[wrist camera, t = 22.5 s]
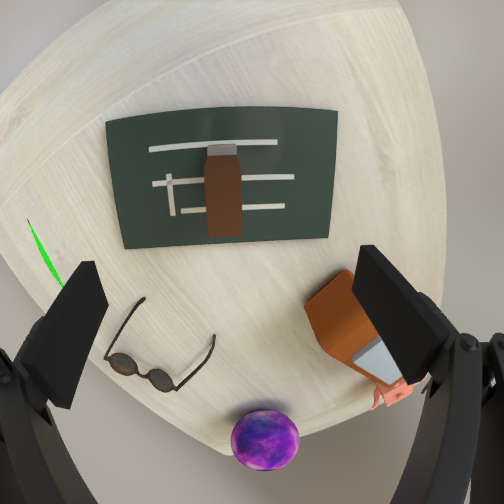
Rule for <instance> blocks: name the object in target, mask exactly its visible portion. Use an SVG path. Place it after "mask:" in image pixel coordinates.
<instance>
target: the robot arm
mask: <svg viewBox="0 0 504 504" xmlns="http://www.w3.org/2000/svg"><path fill="white" fill-rule="evenodd" d="M351 291H352V292H353V294H354V295H355V297H356V299H357V300H358V302H359V303H360V305H361V306H362V308H363V310H364V311H365V313H366V314H367V316H368V318H369V319H370V321H371V323H372V324H373V326H374V328H375V329H376V331H377V333H378V334H379V336H380V338H381V339H382V341H383V343H384V344H385V346H386V348H387V349H388V351H389V353H390V355H391V356H392V358H393V360H394V362H395V363H396V365H397V367H398V369H399V370H400V372H401V374H402V376H403V378H404V379H405V381H406V383H407V385H408V386H409V385H412V384H414V383H417V382H420V381H422V380H423V379H424V377H425V376H426V374H427V372H428V371H429V373H430V375H431V376H432V377H431V378H430V380H429V381H428V383H427V384H426V386H425V387H424V389H423V390H422V392H421V394H423V393H424V392H425V391H426V389H427V393H426V397H425V402H424V406H423V410H422V414H421V418H420V422H419V426H418V429H417V433H416V436H415V439H414V443H413V446H412V449H411V452H410V455H409V458H408V460H407V463H406V466H405V469H404V471H403V474H402V477H401V479H400V481H399V484H398V486H397V489H396V491H395V493H394V496H393V498H392V500H391V502H390V504H464V500H465V497H466V493H467V490H468V486H469V482H470V478H471V491H470V503H469V504H504V334H502V333H495V334H494V335H493V337H492V338H491V340H490V341H489V342H478V340H477V339H476V338H475V337H474V336H472V335H470V334H467V333H462V334H460V333H459V332H458V331H457V330H456V328H455V327H454V326H453V325H452V323H451V322H450V321H449V320H448V319H447V317H446V316H445V315H444V314H443V313H441V310H440V309H439V308H438V307H436V304H435V303H434V302H433V301H432V300H431V299H430V298H429V297H428V296H426V295H425V294H423V293H422V292H417V291H416V290H415V289H414V288H413V287H412V285H411V284H410V283H409V282H408V281H407V280H406V279H405V278H404V277H403V275H402V274H401V273H400V272H399V271H398V270H397V269H396V268H395V267H394V266H393V265H392V264H391V262H390V261H389V260H388V259H387V258H386V257H385V256H384V255H383V254H382V253H381V252H380V251H379V250H378V249H377V248H376V247H375V246H374V245H361V246H360V251H359V256H358V261H357V266H356V271H355V276H354V281H353V285H352V289H351ZM108 306H109V304H108V302H107V299H106V296H105V293H104V290H103V287H102V284H101V281H100V278H99V275H98V272H97V269H96V265H95V262H94V261H82V262H81V263H80V264H79V266H78V267H77V269H76V270H75V271H74V273H73V274H72V276H71V277H70V278H69V280H68V281H67V283H66V284H65V286H64V287H63V289H62V290H61V292H60V293H59V295H58V296H57V298H56V299H55V301H54V302H53V304H52V305H51V307H50V308H49V310H48V312H47V313H46V315H45V316H42V317H41V318H40V319H39V320H38V321H37V322H36V323H35V324H34V325H33V327H32V329H31V330H30V334H28V335H27V337H26V341H24V342H23V344H22V346H21V348H20V350H19V352H18V353H17V355H16V357H15V359H14V361H13V362H12V361H11V360H10V358H9V357H8V355H7V354H6V353H5V351H4V350H3V349H1V348H0V504H98V503H97V501H96V500H95V498H94V497H93V495H92V493H91V492H90V490H89V489H88V487H87V485H86V484H85V482H84V480H83V479H82V477H81V476H80V473H79V472H78V470H77V468H76V466H75V464H74V463H73V460H72V458H71V457H70V455H69V452H68V451H67V448H66V446H65V444H64V442H63V440H62V438H61V436H60V433H59V431H58V429H57V426H56V424H55V421H54V419H53V416H52V414H51V411H50V409H49V408H48V406H47V405H46V403H47V400H48V399H49V400H50V401H51V402H52V403H53V404H54V405H55V406H56V407H60V408H65V409H70V408H71V404H72V401H73V398H74V395H75V392H76V388H77V385H78V383H79V380H80V377H81V374H82V371H83V368H84V365H85V362H86V360H87V357H88V355H89V352H90V349H91V347H92V344H93V342H94V339H95V337H96V334H97V332H98V329H99V327H100V325H101V322H102V320H103V318H104V315H105V313H106V311H107V308H108ZM494 378H495V380H496V384H495V385H494V386H493V387H492V385H491V381H492V380H493V379H494Z"/></svg>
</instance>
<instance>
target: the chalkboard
mask: <svg viewBox="0 0 504 504" xmlns="http://www.w3.org/2000/svg"><path fill="white" fill-rule="evenodd" d="M337 122H338V111H332V110H322V109H310V108H293V107H218V108H201V109H189V110H178V111H169V112H161V113H153V114H146V115H140V116H134V117H128V118H122V119H117V120H112V121H107V122H105V123H106V135H107V146H108V155H109V163H110V171H111V178H112V185H113V191H114V197H115V203H116V209H117V214H118V220H119V225H120V229H121V234H122V239H123V243H124V248H125V249H139V248H154V247H170V246H186V245H203V244H220V243H237V242H255V241H274V240H294V239H314V238H328V235H329V227H330V218H331V208H332V198H333V187H334V175H335V161H336V144H337ZM216 144H236V146H237V157H238V160H239V162H240V165H241V168H242V220H243V236H229V237H211V238H208V230H207V216H206V202H205V187H204V166H205V163H206V160H207V146H208V145H216Z"/></svg>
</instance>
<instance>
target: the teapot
mask: <svg viewBox="0 0 504 504" xmlns="http://www.w3.org/2000/svg"><path fill="white" fill-rule="evenodd" d="M425 379H427V377H424V379H423V380H422V381H424V380H425ZM420 382H421V381H420ZM376 383H377V382H376ZM412 392H413V384H412V385H409V386H408V385H407V383H406V381H405V379H403V380H401V381H400V382H398V383H397V384H396V385H394V386H393V387H392V388H389V389H388V388H386V387H384V386H382V385H381V384H379V383H377V387H376V388H375V390H374V405H373V407H372V408H371V409H370V410H373V409H375V408H376V407H377V406H378V404H379V396H380V394H381V395H382V397H383V399H384V401H385V403H386V405H387V407H388V406H390V405H392V404H394V403H395V402H397V401H399V400H401V399H402V398H404V397H406V396H408V395H409V394H411V393H412Z"/></svg>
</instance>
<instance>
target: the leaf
mask: <svg viewBox="0 0 504 504" xmlns="http://www.w3.org/2000/svg"><path fill="white" fill-rule="evenodd" d="M27 220H28V219H27ZM28 223H29V221H28ZM29 225H30V223H29ZM30 228H31V230H32V233H33V235H34V238H35V240H36V243H37V245H38V247H39V250H40V252H41V254H42V256H43V258H44V260H45V262H46V263H47V265H48V267H49V268H50V270H51V272H52V273H53V275H54V276H55V278H56V279H57V280H58V282H59V283H60V285H61V286H62V287H64V286H63V284H62V282H61V280H60V279H59V277H58V275H57V273H56V271H55V269H54V267H53V265H52V263H51V261H50V259H49V257H48V256H47V254H46V252H45V250H44V248H43V247H42V245H41V243H40V241H39V239H38V238H37V236H36V234H35V232H34V230H33V228H32V227H31V225H30Z"/></svg>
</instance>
